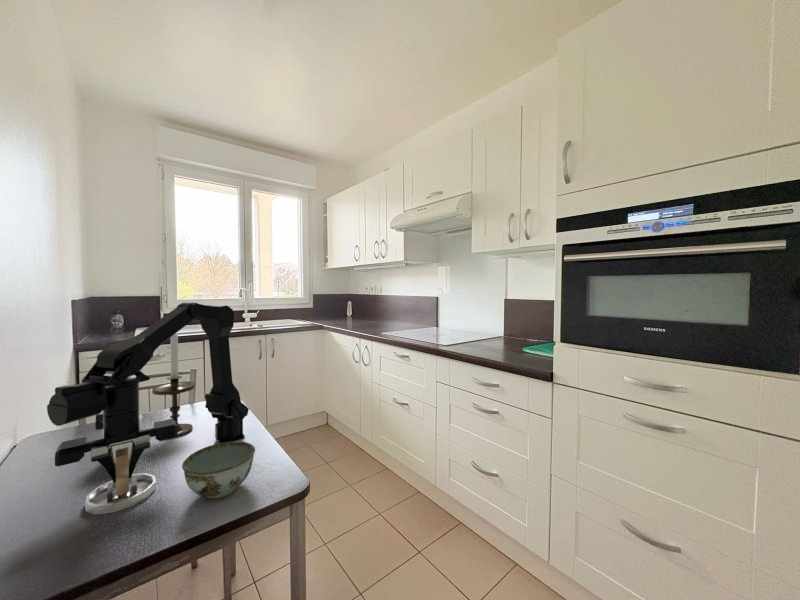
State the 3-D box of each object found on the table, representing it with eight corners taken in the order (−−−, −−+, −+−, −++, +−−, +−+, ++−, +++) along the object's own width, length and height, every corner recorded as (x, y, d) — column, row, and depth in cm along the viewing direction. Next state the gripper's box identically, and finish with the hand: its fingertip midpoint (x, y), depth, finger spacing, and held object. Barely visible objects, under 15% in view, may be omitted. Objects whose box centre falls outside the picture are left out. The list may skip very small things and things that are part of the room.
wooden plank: (128, 483, 69) (128, 447, 68) (129, 491, 66) (128, 454, 65) (116, 486, 67) (116, 450, 67) (116, 496, 64) (115, 457, 64)
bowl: (203, 523, 59) (202, 481, 58) (170, 498, 66) (169, 460, 66) (268, 485, 70) (267, 450, 70) (233, 467, 77) (233, 435, 77)
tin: (153, 474, 74) (153, 464, 74) (157, 497, 66) (157, 485, 66) (88, 494, 67) (88, 482, 67) (83, 522, 59) (83, 509, 59)
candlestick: (171, 424, 102) (170, 318, 102) (203, 425, 102) (202, 318, 101) (143, 440, 92) (141, 320, 91) (179, 441, 91) (177, 321, 91)
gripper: (171, 389, 78) (172, 450, 79) (62, 406, 66) (64, 479, 66) (177, 400, 70) (178, 469, 70) (53, 423, 58) (55, 506, 58)
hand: (122, 479), depth 66 cm, fingers closed on wooden plank, 2 cm apart
